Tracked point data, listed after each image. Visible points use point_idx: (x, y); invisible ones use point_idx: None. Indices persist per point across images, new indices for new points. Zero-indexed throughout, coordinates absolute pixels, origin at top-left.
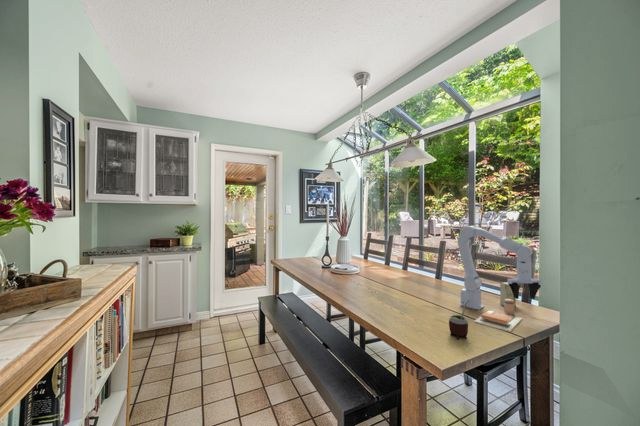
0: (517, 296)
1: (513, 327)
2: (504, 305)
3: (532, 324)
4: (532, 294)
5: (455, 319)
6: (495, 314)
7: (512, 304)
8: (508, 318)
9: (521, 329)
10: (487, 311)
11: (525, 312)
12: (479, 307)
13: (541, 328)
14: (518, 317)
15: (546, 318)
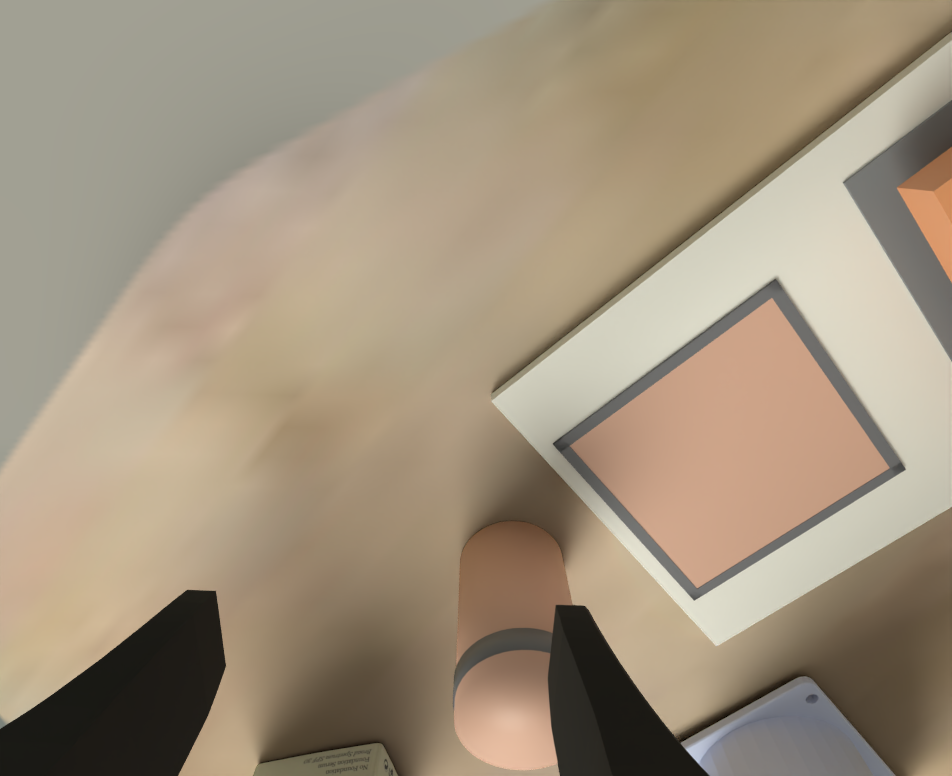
0: (595, 638)
1: (899, 79)
2: (393, 769)
3: (480, 225)
4: (169, 690)
5: None
6: (754, 522)
7: (518, 625)
8: (939, 199)
9: (792, 48)
10: (766, 615)
11: (277, 595)
12: (761, 721)
13: (461, 74)
14: (521, 425)
15: (137, 414)
